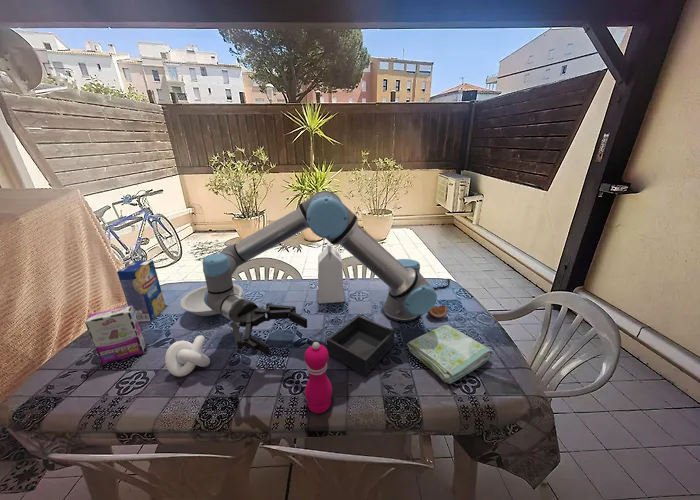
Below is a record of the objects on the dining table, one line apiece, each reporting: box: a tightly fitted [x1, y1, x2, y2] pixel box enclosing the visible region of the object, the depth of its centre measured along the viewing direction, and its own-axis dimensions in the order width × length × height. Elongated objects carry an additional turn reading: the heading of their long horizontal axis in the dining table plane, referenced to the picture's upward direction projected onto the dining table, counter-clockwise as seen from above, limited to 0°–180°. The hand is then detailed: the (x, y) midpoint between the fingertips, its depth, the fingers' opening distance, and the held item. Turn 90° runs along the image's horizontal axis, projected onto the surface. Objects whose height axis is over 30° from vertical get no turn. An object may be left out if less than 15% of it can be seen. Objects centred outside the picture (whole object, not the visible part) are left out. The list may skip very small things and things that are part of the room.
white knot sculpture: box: [164, 334, 211, 378], centre depth 85 cm, size 11×12×9 cm
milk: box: [317, 240, 345, 304], centre depth 122 cm, size 12×12×26 cm
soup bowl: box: [179, 283, 244, 317], centre depth 116 cm, size 24×24×7 cm
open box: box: [326, 315, 396, 377], centre depth 92 cm, size 18×16×6 cm
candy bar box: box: [84, 305, 147, 365], centre depth 88 cm, size 11×5×16 cm, turn 117°
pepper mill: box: [304, 341, 333, 414], centre depth 70 cm, size 7×7×20 cm
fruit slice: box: [427, 305, 449, 319], centre depth 110 cm, size 8×7×5 cm
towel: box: [406, 324, 493, 385], centre depth 89 cm, size 18×21×5 cm
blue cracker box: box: [116, 259, 167, 323], centre depth 110 cm, size 7×11×22 cm, turn 7°
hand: (288, 336), depth 72 cm, fingers open, 13 cm apart
